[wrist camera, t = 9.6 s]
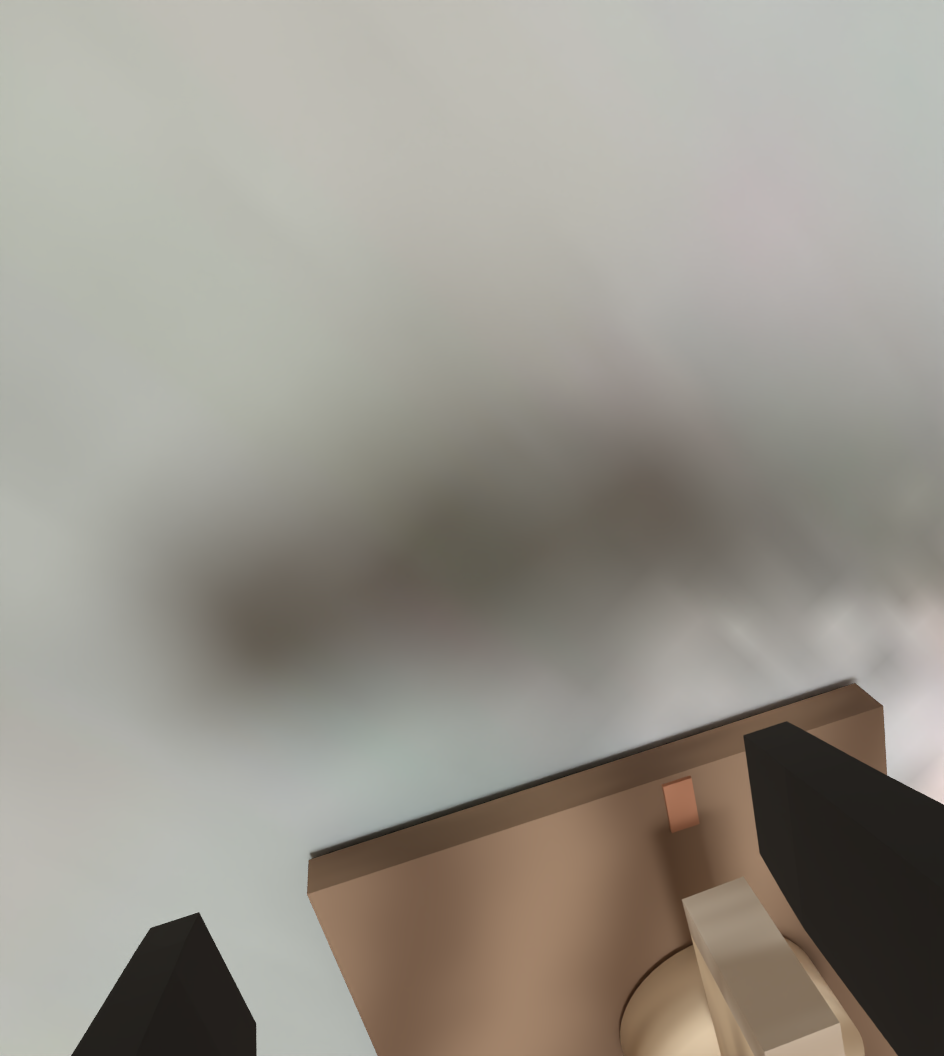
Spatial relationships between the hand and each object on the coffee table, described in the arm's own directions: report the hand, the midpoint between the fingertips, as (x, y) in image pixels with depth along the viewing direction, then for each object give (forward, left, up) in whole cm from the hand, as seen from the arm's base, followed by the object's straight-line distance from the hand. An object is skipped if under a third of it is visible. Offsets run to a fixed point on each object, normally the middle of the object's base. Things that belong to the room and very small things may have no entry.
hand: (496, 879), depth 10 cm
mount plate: (-3, +15, -9) cm, 18 cm away
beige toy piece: (-5, +14, -8) cm, 17 cm away
